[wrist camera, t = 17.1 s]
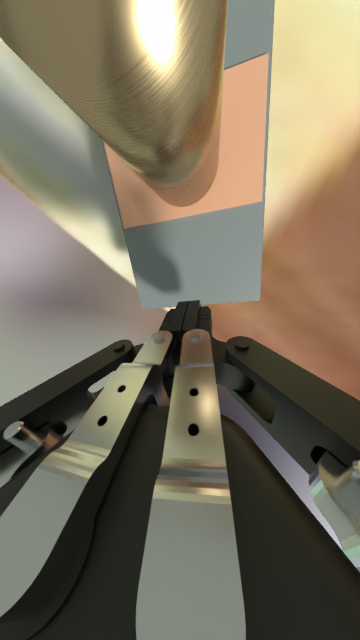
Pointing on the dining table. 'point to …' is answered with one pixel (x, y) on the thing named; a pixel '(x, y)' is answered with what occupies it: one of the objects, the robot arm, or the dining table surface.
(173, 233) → the seesaw board
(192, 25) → the ball
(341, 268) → the dining table surface
